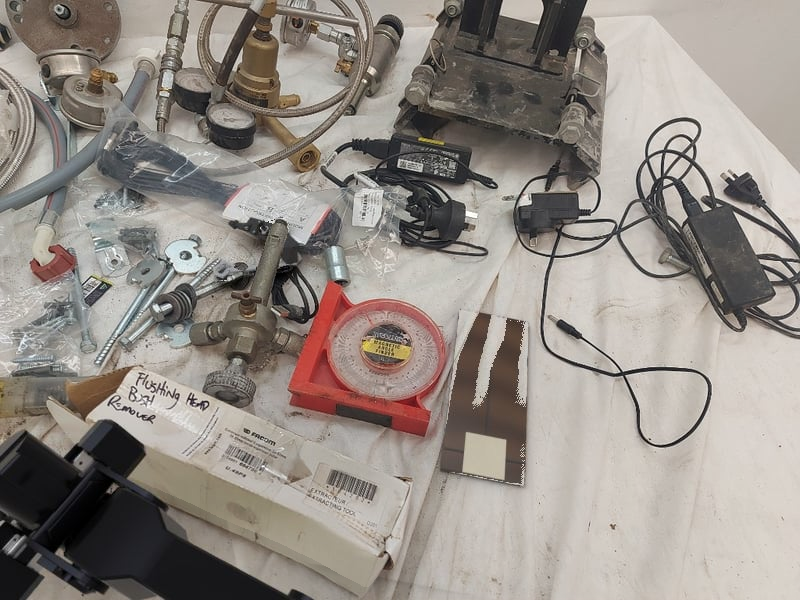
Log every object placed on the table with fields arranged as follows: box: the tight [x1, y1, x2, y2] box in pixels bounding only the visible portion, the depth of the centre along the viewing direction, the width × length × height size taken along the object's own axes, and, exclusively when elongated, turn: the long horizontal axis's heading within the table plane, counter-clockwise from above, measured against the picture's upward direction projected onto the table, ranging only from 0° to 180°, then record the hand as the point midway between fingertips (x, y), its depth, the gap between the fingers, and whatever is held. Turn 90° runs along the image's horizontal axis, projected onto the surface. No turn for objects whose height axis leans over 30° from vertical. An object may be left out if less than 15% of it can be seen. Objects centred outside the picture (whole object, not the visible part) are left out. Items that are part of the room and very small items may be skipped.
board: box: [439, 311, 528, 484], centre depth 90 cm, size 28×12×1 cm, turn 171°
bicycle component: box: [212, 216, 302, 283], centre depth 98 cm, size 12×7×15 cm
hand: (39, 498), depth 65 cm, fingers closed on two-way radio, 5 cm apart
